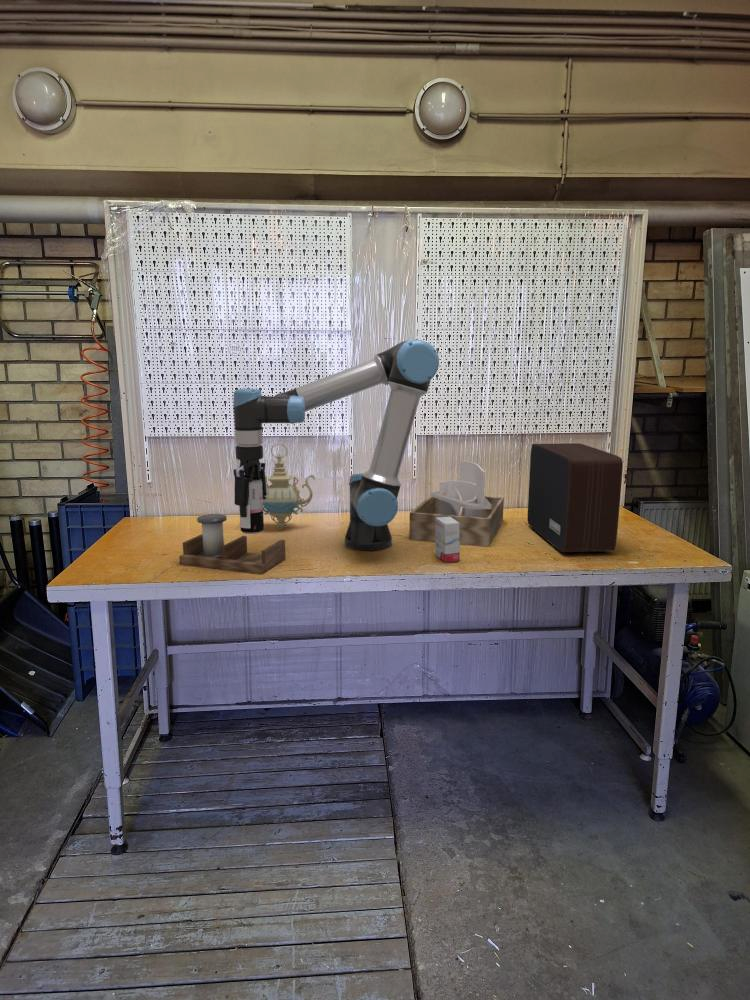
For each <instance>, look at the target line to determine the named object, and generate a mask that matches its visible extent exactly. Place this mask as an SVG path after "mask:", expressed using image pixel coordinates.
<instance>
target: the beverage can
mask: <svg viewBox="0 0 750 1000" xmlns="http://www.w3.org/2000/svg"><path fill="white" fill-rule="evenodd" d="M245 479H247V478H245ZM248 505H250V525H251V528H241V527H240V532H242V533H243V534H247V535H253V534H254V535H256V534H261V533H262V532H263V531H264V530H265V527H264V526H265V525H264V518H265V517H264V511H263V507H264V506H263V489H262V480H261V479H259V480H253V481H252V482H249V499H248ZM239 520H240V519H239ZM239 522H240V523H239V524H240V526H241V520H240V521H239Z"/></svg>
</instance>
